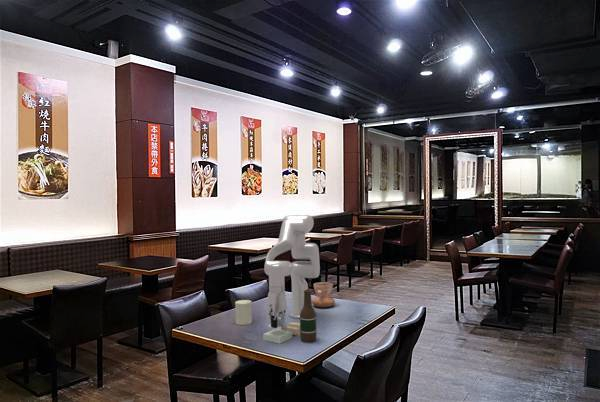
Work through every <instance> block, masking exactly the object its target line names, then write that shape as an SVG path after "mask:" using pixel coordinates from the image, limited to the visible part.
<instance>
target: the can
mask: <svg viewBox="0 0 600 402" xmlns="http://www.w3.org/2000/svg"><path fill="white" fill-rule="evenodd" d="M234 303H235V321H234V322H235V323H234V324H235V325H238V326H239V325H240V326H244V325H245V326H247V325H250V324H252V323H253V317H252V312H253V311H252V307H253V306H252V300H249V299H241V300H240V299H239V300H236V301H235V302H234Z"/></svg>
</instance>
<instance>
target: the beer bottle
mask: <svg viewBox="0 0 600 402" xmlns="http://www.w3.org/2000/svg"><path fill="white" fill-rule="evenodd" d="M299 323H300V334H299V336H300V341H302V342H303V343H313V342H315V341H317V315H316V310H315V309H314V307H313V304H312V290H311V289H308V290H304V306H303V309H302V310H301V313H300V318H299Z"/></svg>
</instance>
